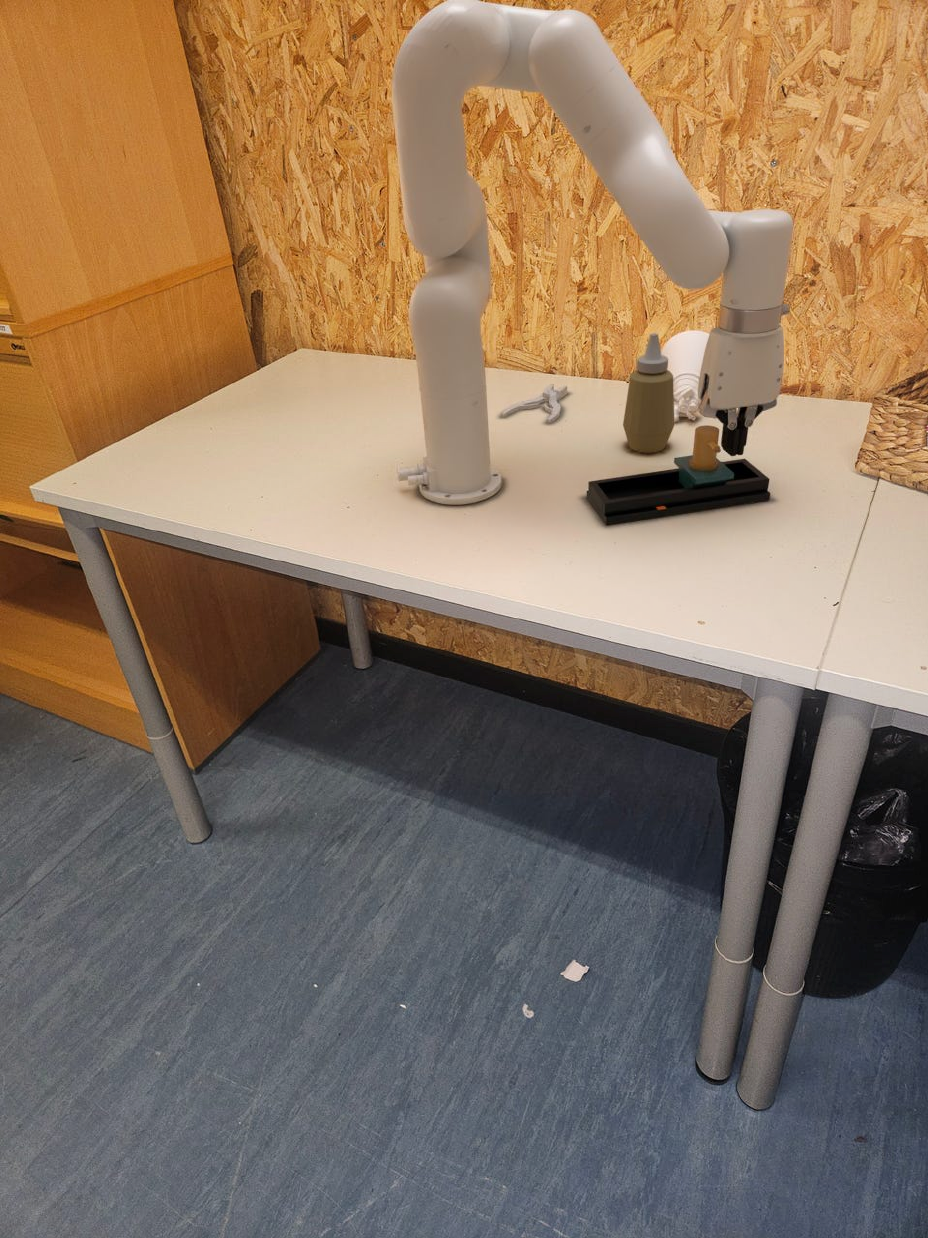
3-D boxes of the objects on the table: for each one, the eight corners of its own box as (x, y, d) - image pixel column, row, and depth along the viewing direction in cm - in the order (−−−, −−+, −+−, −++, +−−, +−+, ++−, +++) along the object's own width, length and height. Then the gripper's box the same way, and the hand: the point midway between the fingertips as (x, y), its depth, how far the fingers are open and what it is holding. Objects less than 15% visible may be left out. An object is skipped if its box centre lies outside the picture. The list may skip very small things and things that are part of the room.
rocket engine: (689, 371, 133) (698, 317, 144) (634, 410, 141) (646, 355, 152) (732, 420, 137) (737, 363, 148) (676, 454, 145) (685, 398, 156)
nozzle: (694, 500, 114) (700, 443, 109) (672, 477, 120) (676, 422, 115) (732, 495, 114) (739, 437, 109) (708, 472, 121) (714, 417, 116)
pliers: (500, 408, 148) (535, 381, 158) (501, 417, 148) (535, 389, 159) (550, 415, 143) (583, 387, 154) (550, 423, 144) (583, 395, 155)
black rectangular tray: (606, 525, 112) (606, 506, 111) (586, 497, 120) (586, 479, 118) (769, 500, 115) (772, 481, 114) (740, 474, 123) (742, 456, 121)
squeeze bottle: (672, 457, 129) (682, 342, 119) (620, 456, 131) (625, 342, 121) (672, 437, 136) (681, 326, 126) (623, 436, 137) (627, 327, 127)
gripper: (788, 304, 108) (769, 435, 119) (681, 317, 107) (671, 449, 117) (819, 317, 102) (795, 454, 113) (706, 332, 101) (693, 470, 111)
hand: (732, 451), depth 115 cm, fingers closed
